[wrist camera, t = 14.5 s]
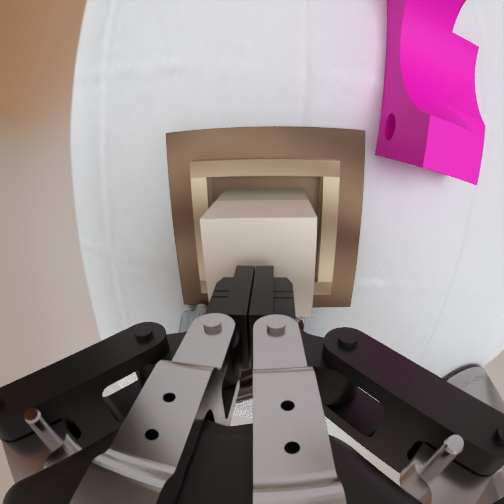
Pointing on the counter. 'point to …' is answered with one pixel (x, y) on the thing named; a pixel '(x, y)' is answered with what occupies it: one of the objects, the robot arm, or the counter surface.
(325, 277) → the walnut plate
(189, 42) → the counter surface
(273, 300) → the robot arm
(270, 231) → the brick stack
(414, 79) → the toy block
